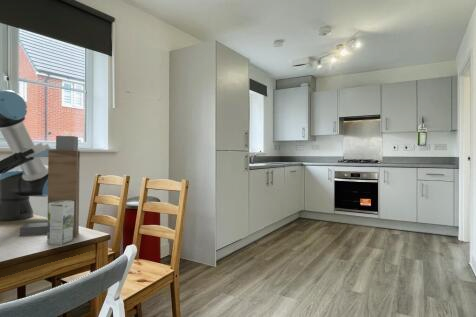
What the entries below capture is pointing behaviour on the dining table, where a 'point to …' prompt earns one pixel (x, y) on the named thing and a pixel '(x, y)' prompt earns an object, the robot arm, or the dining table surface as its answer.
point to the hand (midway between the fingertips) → (46, 146)
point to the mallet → (61, 145)
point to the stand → (64, 180)
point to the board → (33, 229)
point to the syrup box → (60, 222)
